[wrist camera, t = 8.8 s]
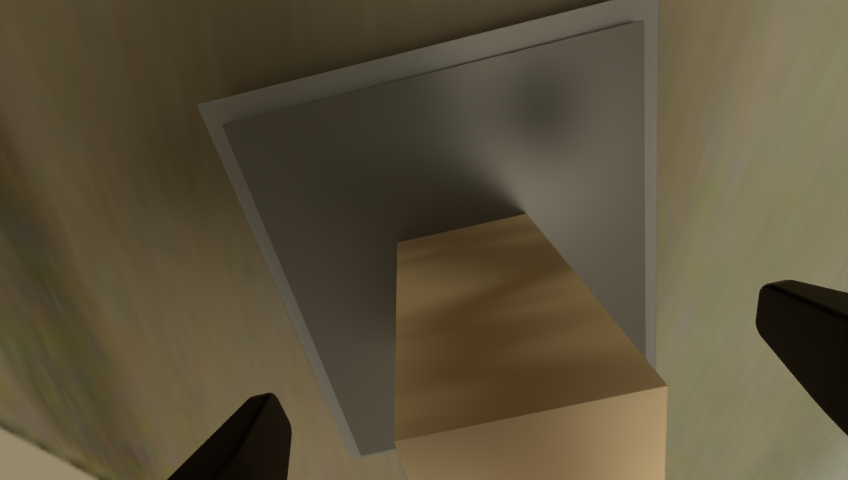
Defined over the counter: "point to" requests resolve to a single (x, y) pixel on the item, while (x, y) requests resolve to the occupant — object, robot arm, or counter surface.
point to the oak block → (516, 366)
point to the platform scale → (449, 180)
